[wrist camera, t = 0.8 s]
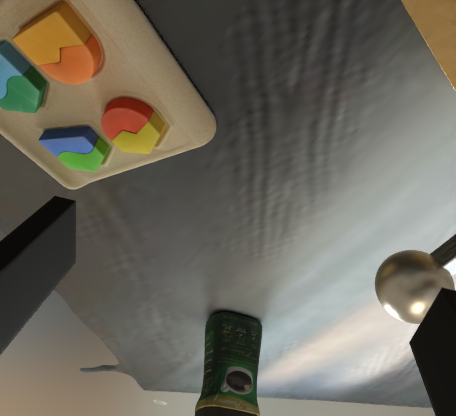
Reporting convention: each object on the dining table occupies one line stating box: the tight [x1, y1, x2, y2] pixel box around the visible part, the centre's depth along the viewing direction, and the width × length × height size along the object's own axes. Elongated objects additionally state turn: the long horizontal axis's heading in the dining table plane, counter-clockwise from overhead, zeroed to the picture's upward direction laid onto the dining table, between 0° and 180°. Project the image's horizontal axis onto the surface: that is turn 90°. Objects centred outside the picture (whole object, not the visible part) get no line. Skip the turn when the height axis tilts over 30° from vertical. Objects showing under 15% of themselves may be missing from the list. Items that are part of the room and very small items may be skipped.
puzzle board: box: [0, 0, 216, 189], centre depth 34 cm, size 18×19×3 cm
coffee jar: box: [195, 312, 262, 416], centre depth 63 cm, size 10×8×19 cm
